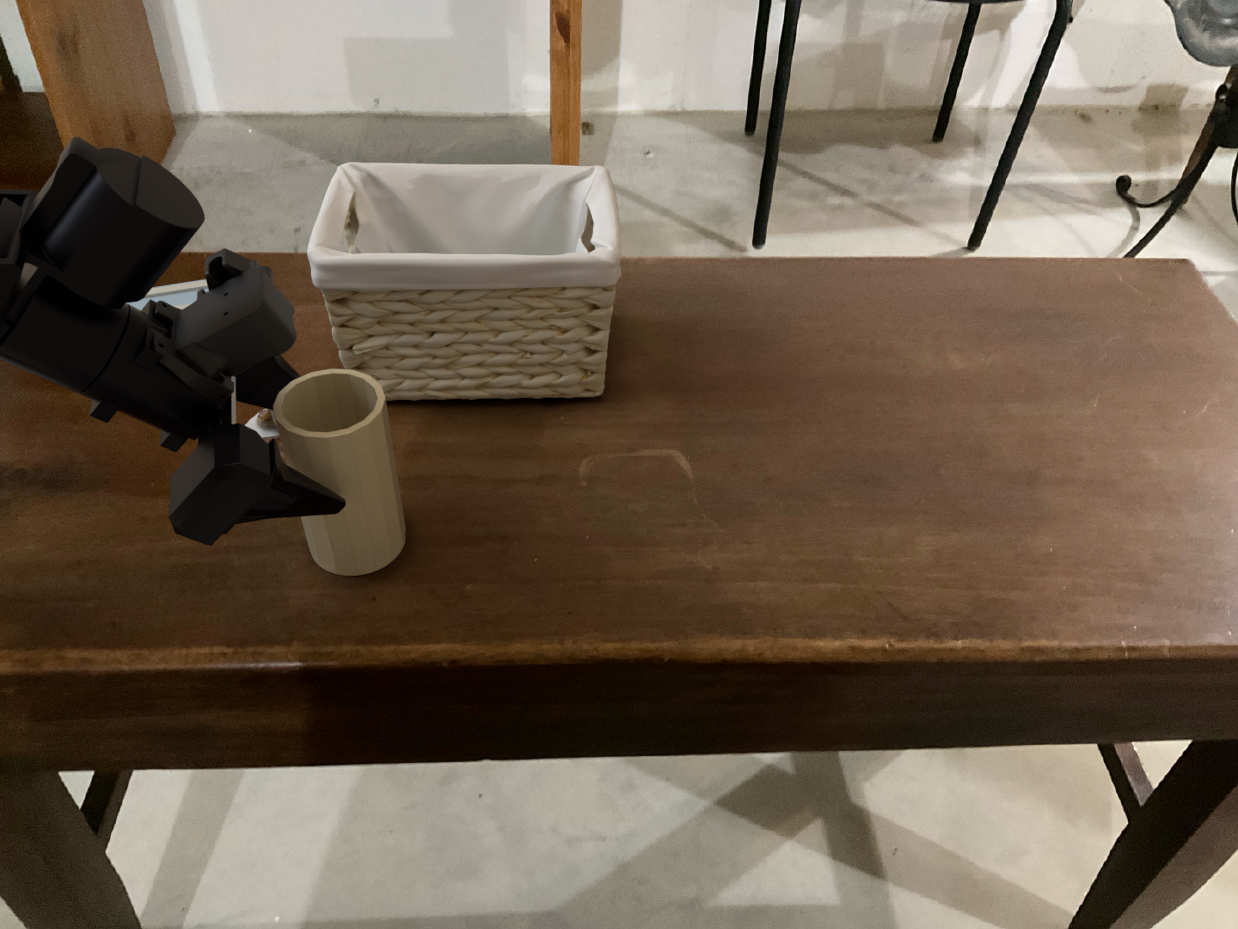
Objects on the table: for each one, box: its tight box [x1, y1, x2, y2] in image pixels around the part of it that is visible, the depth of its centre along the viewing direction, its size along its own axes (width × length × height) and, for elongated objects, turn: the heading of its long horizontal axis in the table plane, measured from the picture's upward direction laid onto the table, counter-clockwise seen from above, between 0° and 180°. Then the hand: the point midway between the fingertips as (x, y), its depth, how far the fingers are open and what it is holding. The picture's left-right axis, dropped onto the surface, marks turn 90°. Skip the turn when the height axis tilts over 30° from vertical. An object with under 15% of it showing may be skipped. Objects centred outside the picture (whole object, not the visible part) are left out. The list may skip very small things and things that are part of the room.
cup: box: [273, 368, 407, 577], centre depth 65 cm, size 7×7×13 cm
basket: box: [306, 161, 622, 402], centre depth 81 cm, size 24×16×15 cm
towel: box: [127, 278, 209, 310], centre depth 88 cm, size 10×6×2 cm, turn 112°
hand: (336, 459), depth 64 cm, fingers open, 9 cm apart
